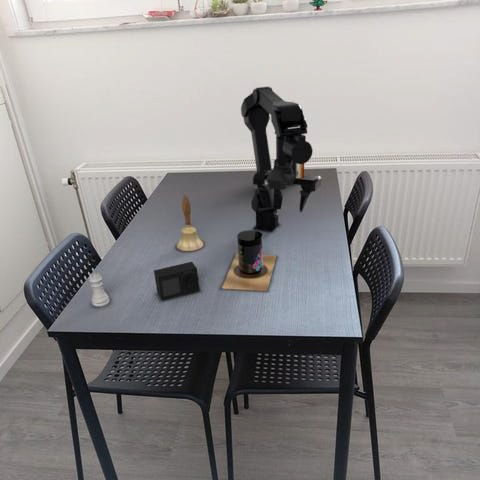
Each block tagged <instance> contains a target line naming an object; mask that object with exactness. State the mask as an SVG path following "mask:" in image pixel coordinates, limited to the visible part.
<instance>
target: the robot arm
mask: <svg viewBox="0 0 480 480" xmlns="http://www.w3.org/2000/svg"><path fill="white" fill-rule="evenodd" d="M240 112H241V117H242V118H243V123H244V125H245V126H246V127H247V129H248V130H249V132H250V133H251V141H252V148H253V154H254V155H253V156H254V162H255V167H256V173H254V174H253V176H252V185H255V187H254V195H253V197H252V199H251V201H250V204H251V209H252V210H253V211H254V212H255V225H254V226H253V230H258V231H259V230H260V231H265V232H266V231H267V232H272V231H274V230H275V229H276V228H277V227H278V226H279V225H280V222H279V213H278V210H281V209H282V205H283V199H284V195H283V192H282V191H284V190H285V189H286V188H287V186H292V185H297V186H300V188H301V190H300V191H299V194H300V200H299V213H302V212H303V211H304V209H305V206H306V203H307V201H308V199H309V197H310V195H311V194H312V193H313V192H316V191H317V190H318V189H319V188H320V187H321V186H322V177H321V176H320V175H317V174H316V175H315V174H306V175H304V178H298V177H297V175H298V171H297V164H304V165H305V164H306V163H308V162H309V161H310V160H311V158H312V156H313V152H314V151H313V146H312V144H311V143H310V141H309V142H308V141H307V140H306V139H307V137H306V135H307V134H308V123H307V120H306V117H305V114H304V111H303V109H302V107H301V105H300V104H299V103H297V102H294V101H286V100H284V99H283V98H281V96H279V94H277V93H276V92H275V91H274V90H273V88H272V87H271V86H259V87H256V88H254V89H253V90H252V92H251V93H249V95H247V96H246V97H244V99H243V101H242V103H241V106H240ZM269 122H271V124H272V126H273V129H274V134H275V153H276V154H275V159H274V161H273V167H272V161H271V153H270V146H269V140H268V132H267V127H268V124H269Z"/></svg>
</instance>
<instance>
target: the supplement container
mask: <svg viewBox="0 0 480 480" xmlns="http://www.w3.org/2000/svg"><path fill="white" fill-rule="evenodd" d="M236 239H237V240H236V242H237V254H238V260H239V270H240V271H241V272H242V273H243V274H247V275H254V274H257V273H259V272H261V271H262V269H263V255H264V254H263V233H262V232H261V231H259V230H256V229H247V230H242V231H240V232H238V233H237V234H236Z"/></svg>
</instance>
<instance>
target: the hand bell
mask: <svg viewBox="0 0 480 480" xmlns="http://www.w3.org/2000/svg"><path fill="white" fill-rule="evenodd" d="M181 209H182V213H183V216H184V224H185V227H183V228H182V229H181V231H180V232H181V233H180V234H181V235H180V239H179V241H178V242H177V244H176V248H177V249H178V250H180V251H182V252H194V251H199V250H200V249H202V248H203V247H204V242H203V240H201V239H200V238H199V236H198V232H197V229H196V228H195V227H193V226H192V222H191V220H192V219H191V212H192V205H191V201H190V199H189V196H188V195H183V196H182V201H181Z"/></svg>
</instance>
